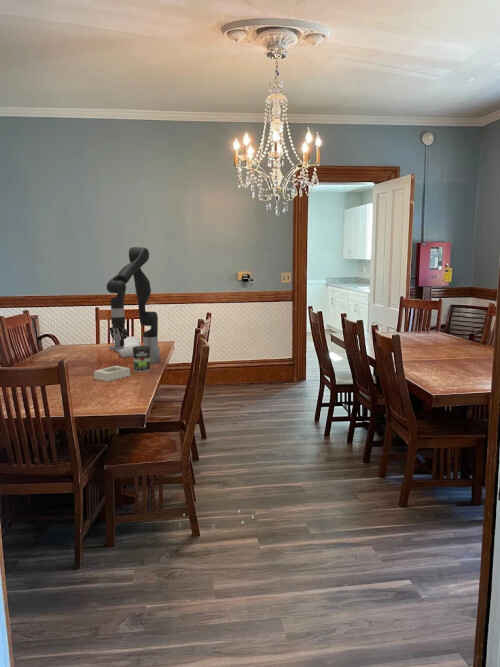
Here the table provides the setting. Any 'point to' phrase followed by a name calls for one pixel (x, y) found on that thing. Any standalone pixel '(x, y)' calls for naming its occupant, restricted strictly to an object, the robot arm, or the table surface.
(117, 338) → the grey rectangular block
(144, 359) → the coffee can
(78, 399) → the table surface
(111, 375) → the well block
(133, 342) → the wavy white extrusion
